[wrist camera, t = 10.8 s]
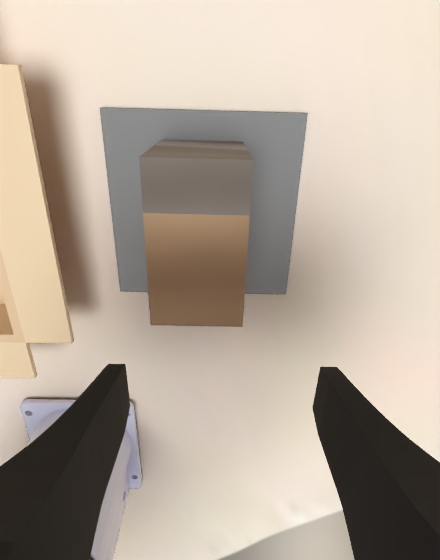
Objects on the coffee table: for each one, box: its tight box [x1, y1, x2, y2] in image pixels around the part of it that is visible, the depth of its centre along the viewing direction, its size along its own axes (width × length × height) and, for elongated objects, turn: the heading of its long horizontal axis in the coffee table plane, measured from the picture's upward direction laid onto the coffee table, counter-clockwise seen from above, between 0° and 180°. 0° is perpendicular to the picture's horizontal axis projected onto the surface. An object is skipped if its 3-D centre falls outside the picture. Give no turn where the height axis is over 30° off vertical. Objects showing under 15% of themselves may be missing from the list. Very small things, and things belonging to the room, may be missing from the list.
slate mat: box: [100, 108, 308, 294], centre depth 20 cm, size 10×10×1 cm
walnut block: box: [139, 139, 254, 327], centre depth 17 cm, size 7×4×6 cm, turn 178°
